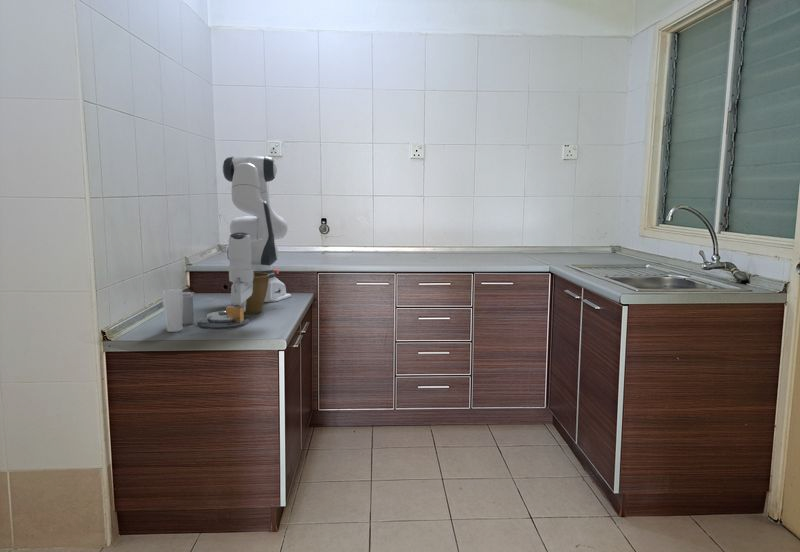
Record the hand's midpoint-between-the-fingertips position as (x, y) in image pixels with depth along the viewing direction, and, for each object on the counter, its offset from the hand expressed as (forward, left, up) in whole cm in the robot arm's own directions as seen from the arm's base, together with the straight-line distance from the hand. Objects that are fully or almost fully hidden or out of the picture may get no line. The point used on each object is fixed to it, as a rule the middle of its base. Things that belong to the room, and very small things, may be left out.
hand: (242, 311), depth 222 cm
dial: (+2, -6, -3) cm, 7 cm away
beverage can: (+10, -20, -5) cm, 23 cm away
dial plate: (+2, -8, -5) cm, 9 cm away
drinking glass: (+20, -14, -5) cm, 25 cm away
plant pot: (-19, -13, -5) cm, 23 cm away
